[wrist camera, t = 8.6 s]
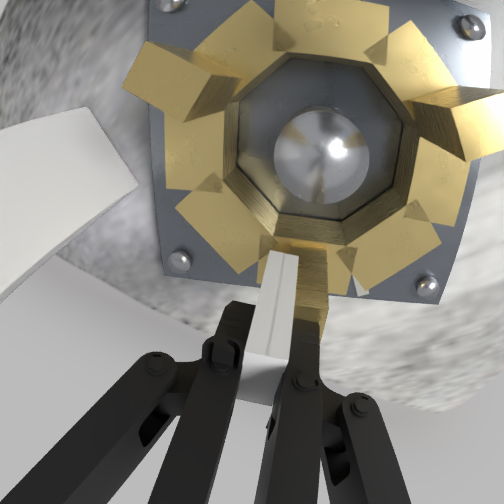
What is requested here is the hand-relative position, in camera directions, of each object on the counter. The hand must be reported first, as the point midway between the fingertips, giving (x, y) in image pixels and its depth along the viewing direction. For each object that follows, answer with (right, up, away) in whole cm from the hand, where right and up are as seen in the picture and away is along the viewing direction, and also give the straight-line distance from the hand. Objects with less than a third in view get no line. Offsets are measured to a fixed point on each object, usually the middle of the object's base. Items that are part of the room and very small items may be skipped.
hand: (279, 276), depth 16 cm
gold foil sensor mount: (+2, +7, +1) cm, 7 cm away
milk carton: (-14, +7, +5) cm, 17 cm away
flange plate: (+2, +8, +2) cm, 8 cm away
